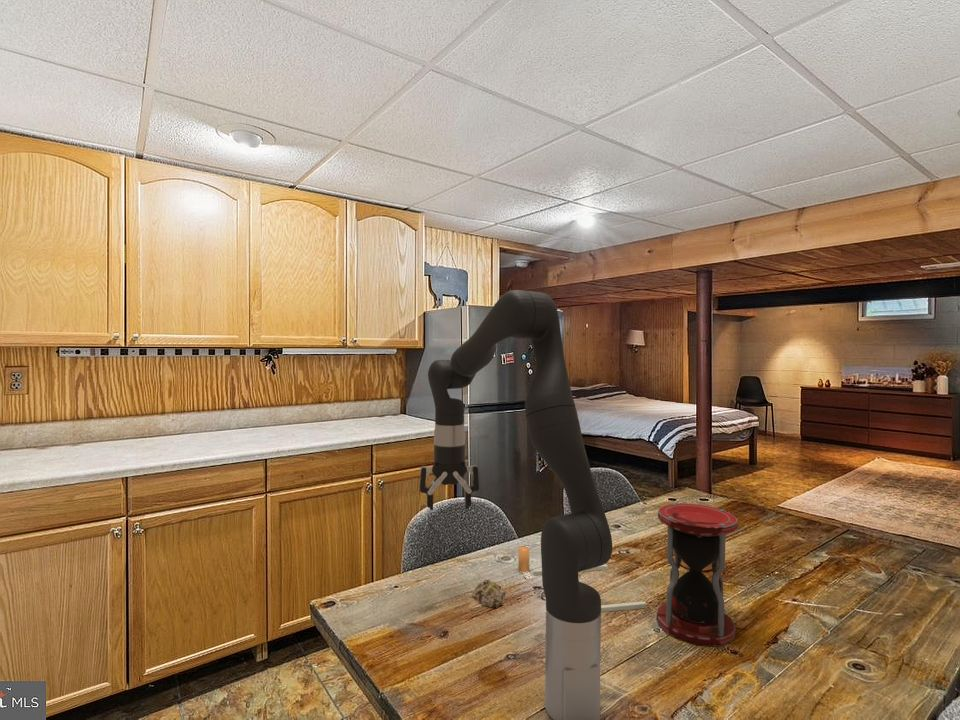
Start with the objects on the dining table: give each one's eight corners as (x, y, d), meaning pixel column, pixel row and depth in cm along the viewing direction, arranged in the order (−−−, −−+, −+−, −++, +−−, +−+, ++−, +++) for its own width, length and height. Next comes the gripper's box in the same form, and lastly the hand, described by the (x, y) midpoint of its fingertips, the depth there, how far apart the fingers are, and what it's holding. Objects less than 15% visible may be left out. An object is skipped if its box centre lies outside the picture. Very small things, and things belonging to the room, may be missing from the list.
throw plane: (654, 616, 117) (654, 590, 117) (551, 626, 113) (551, 599, 113) (600, 561, 147) (600, 541, 147) (517, 568, 142) (517, 546, 142)
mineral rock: (467, 581, 130) (496, 570, 132) (471, 597, 130) (500, 585, 132) (476, 604, 119) (508, 591, 121) (481, 620, 120) (513, 608, 122)
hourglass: (641, 614, 118) (642, 506, 118) (696, 602, 124) (698, 499, 123) (693, 653, 103) (695, 530, 103) (753, 638, 109) (755, 521, 108)
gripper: (420, 446, 119) (420, 515, 120) (481, 444, 121) (480, 512, 122) (419, 439, 127) (419, 504, 127) (476, 438, 129) (476, 502, 130)
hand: (449, 508), depth 125 cm, fingers open, 8 cm apart
